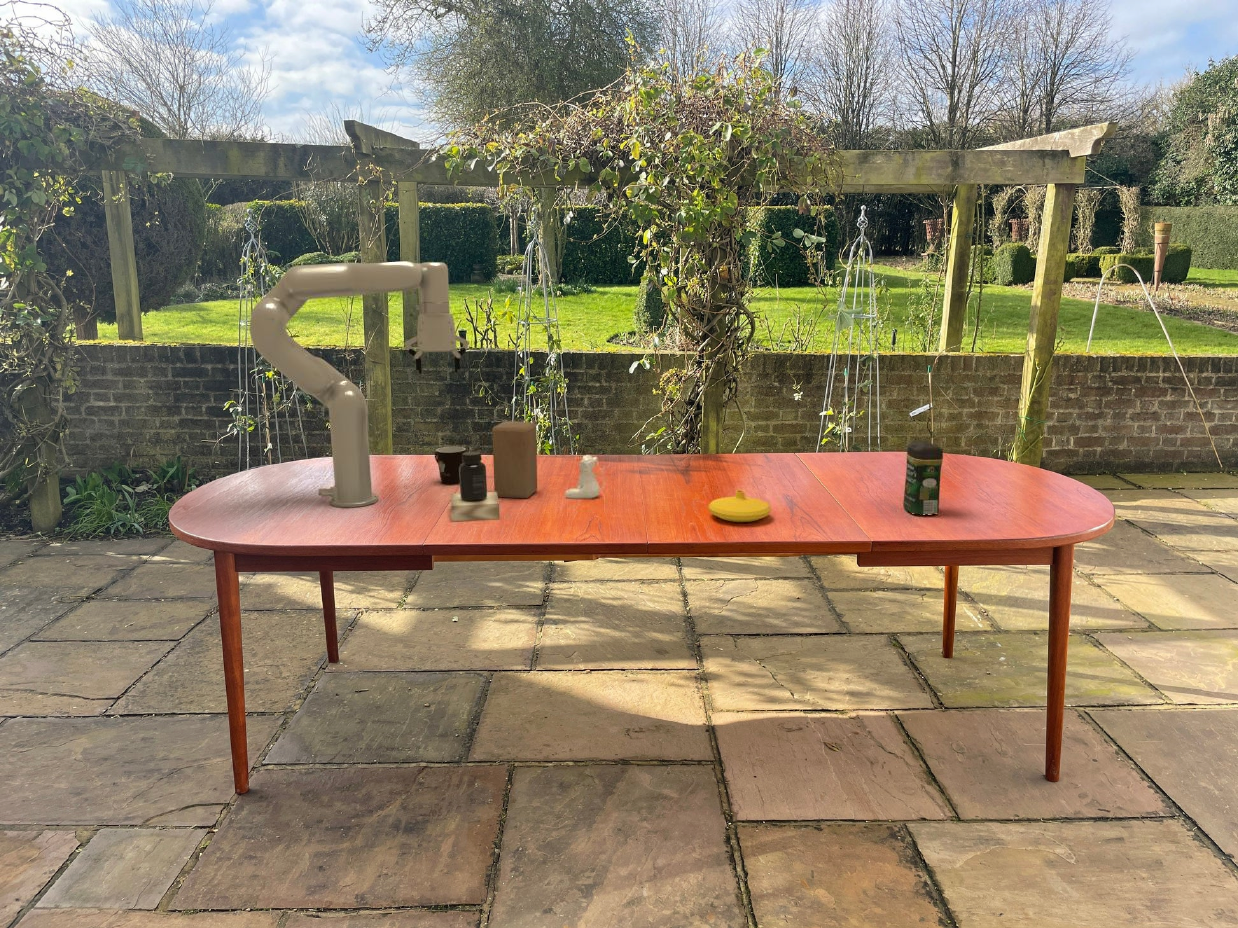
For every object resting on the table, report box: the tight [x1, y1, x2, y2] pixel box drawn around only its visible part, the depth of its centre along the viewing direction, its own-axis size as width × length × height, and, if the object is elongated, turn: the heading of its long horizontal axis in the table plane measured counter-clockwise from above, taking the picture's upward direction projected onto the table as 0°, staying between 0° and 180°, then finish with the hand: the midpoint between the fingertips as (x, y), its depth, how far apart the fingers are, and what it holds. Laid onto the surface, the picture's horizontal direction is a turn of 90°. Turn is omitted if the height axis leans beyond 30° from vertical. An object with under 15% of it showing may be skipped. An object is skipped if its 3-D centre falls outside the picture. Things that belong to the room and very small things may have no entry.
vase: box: [708, 490, 772, 523], centre depth 218 cm, size 16×16×7 cm
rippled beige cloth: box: [450, 491, 501, 522], centre depth 222 cm, size 12×12×4 cm
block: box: [492, 421, 538, 499], centre depth 240 cm, size 10×10×20 cm
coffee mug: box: [434, 446, 467, 486], centre depth 256 cm, size 12×9×10 cm
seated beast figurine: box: [565, 454, 601, 500], centre depth 238 cm, size 10×9×12 cm
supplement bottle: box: [459, 451, 488, 502], centre depth 220 cm, size 7×7×12 cm
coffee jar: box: [902, 440, 944, 516], centre depth 221 cm, size 10×8×19 cm
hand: (438, 372), depth 235 cm, fingers open, 9 cm apart
